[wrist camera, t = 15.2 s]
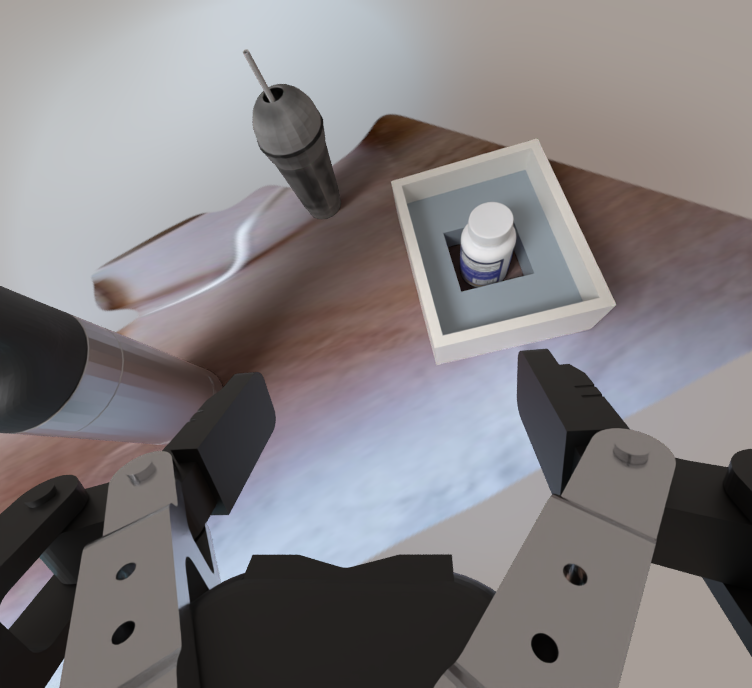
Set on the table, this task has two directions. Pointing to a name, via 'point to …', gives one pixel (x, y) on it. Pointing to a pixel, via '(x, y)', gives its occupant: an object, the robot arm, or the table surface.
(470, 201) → the bore box
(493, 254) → the pill bottle
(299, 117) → the beverage cup
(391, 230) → the table surface
